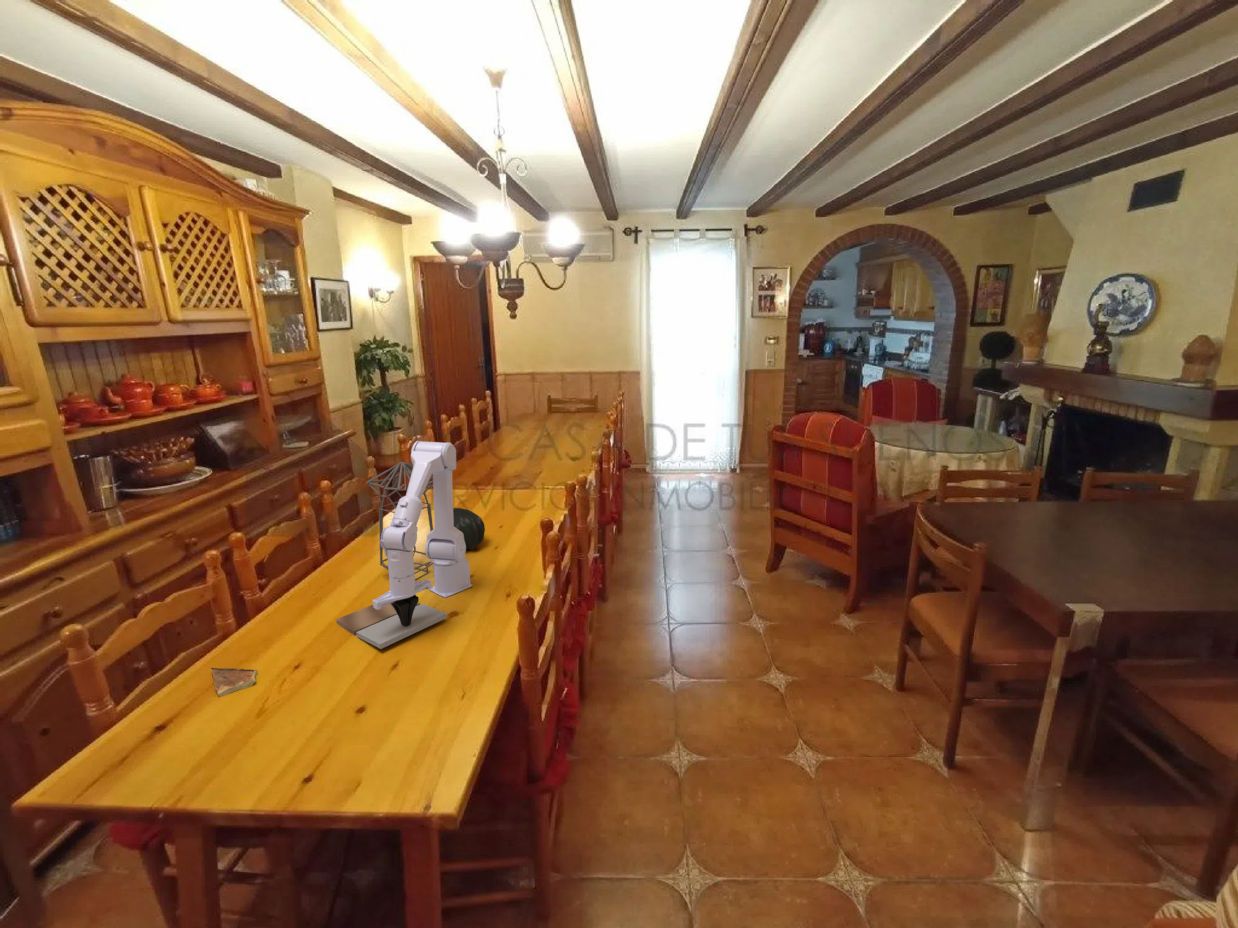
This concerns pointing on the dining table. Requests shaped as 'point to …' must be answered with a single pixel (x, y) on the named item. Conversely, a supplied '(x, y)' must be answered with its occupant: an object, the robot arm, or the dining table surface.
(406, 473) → the geometric lantern
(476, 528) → the squash
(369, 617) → the walnut board
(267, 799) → the dining table surface
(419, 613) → the grey plank
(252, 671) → the shard
